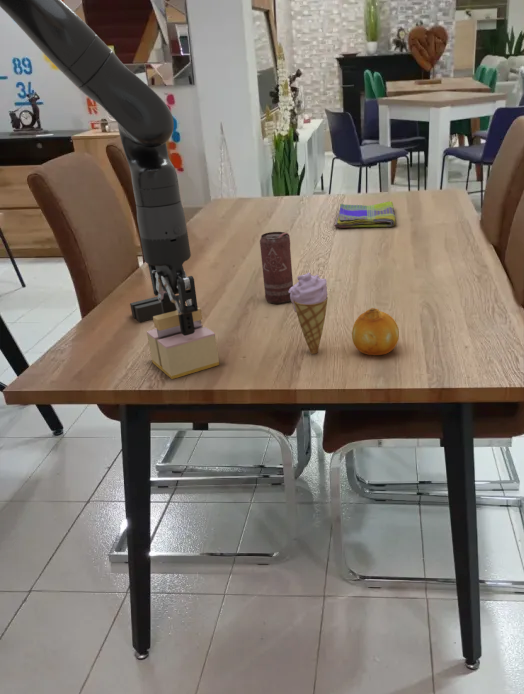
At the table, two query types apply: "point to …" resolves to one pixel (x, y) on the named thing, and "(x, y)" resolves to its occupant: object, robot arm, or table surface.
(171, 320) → the scraper
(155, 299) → the stand
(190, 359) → the slotted cream block
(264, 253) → the can
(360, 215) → the dish towel
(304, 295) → the ice cream cone
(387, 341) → the fruit
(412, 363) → the table surface
